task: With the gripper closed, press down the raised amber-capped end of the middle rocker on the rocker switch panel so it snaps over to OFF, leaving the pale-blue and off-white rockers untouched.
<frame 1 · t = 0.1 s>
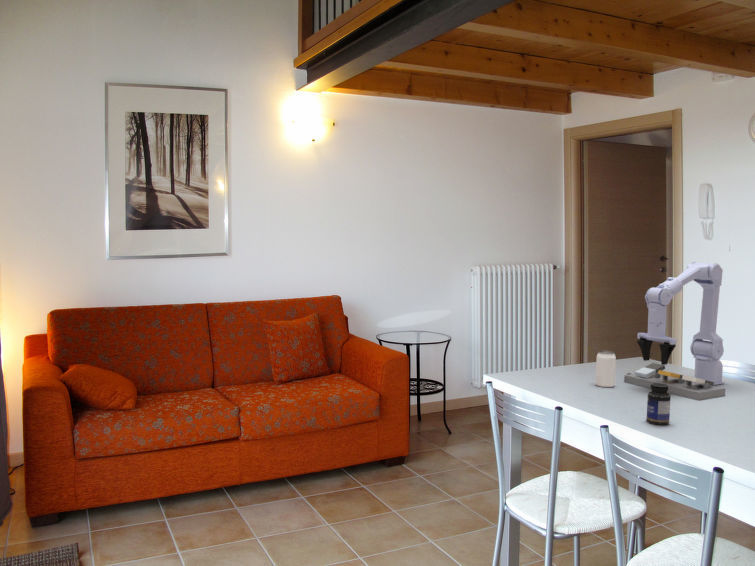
hand: (655, 362, 235), 10 cm above the table, fingers open, 7 cm apart
pill bottle: (657, 423, 197), on the table
rocker c: (698, 380, 232), point 5 cm above the table, hinge at -14.0°
rocker switch panel: (672, 388, 240), on the table
rocker b: (673, 375, 240), point 5 cm above the table, hinge at -14.0°
can: (605, 386, 243), on the table
rocker a: (649, 370, 248), point 5 cm above the table, hinge at 14.0°
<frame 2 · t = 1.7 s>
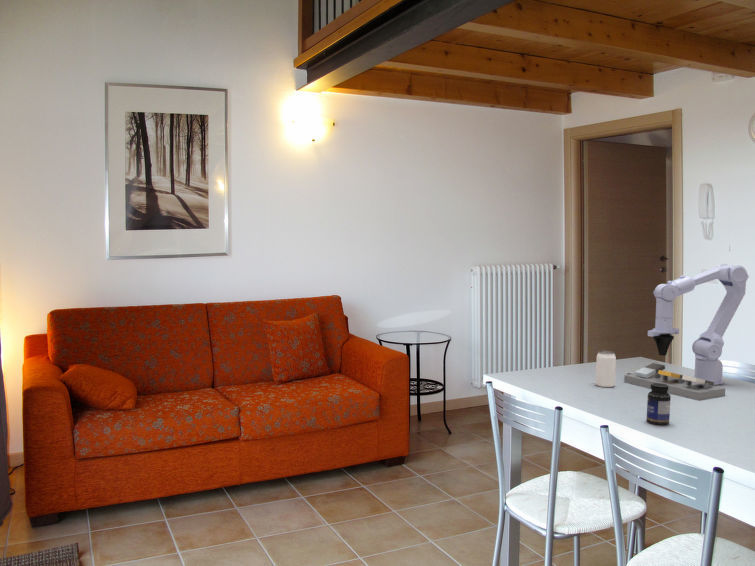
hand: (662, 355, 247), 10 cm above the table, fingers closed
nothing on the table moved.
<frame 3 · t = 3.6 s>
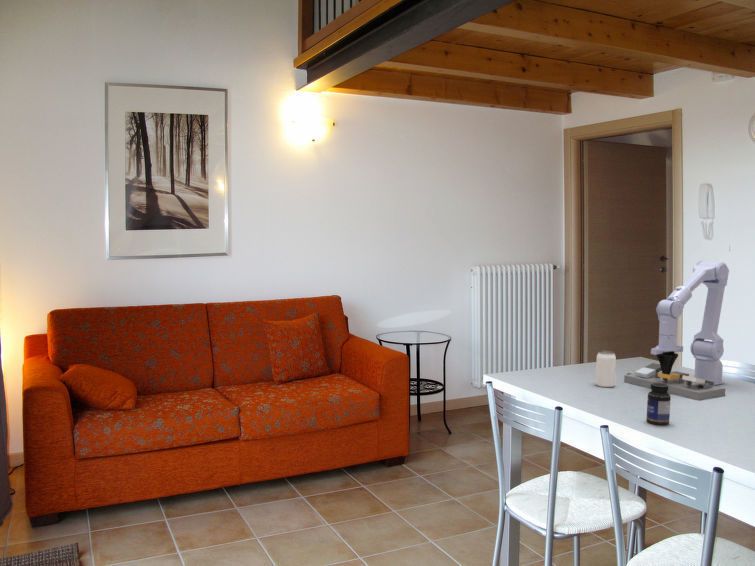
hand: (666, 373, 238), 6 cm above the table, fingers closed
rocker b: (673, 375, 240), point 5 cm above the table, hinge at -3.0°, touching gripper
everything else where it was.
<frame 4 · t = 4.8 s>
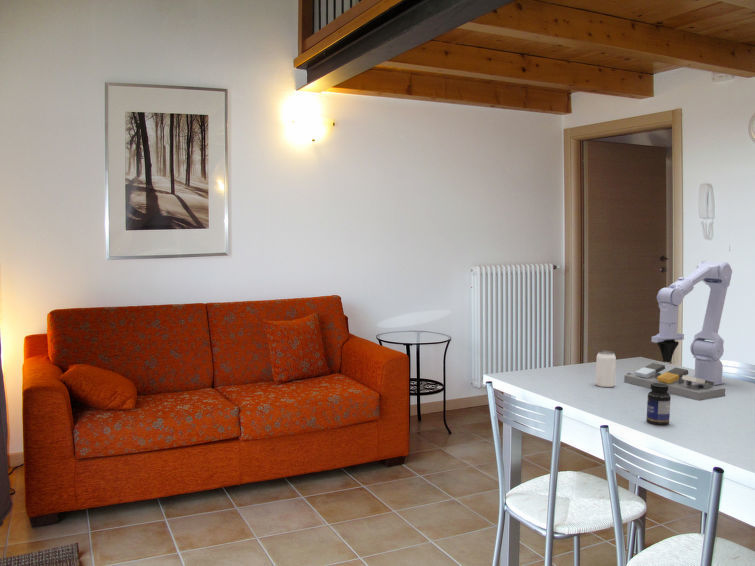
hand: (666, 361, 238), 10 cm above the table, fingers closed
rocker b: (672, 375, 240), point 5 cm above the table, hinge at 14.4°
everything else where it was.
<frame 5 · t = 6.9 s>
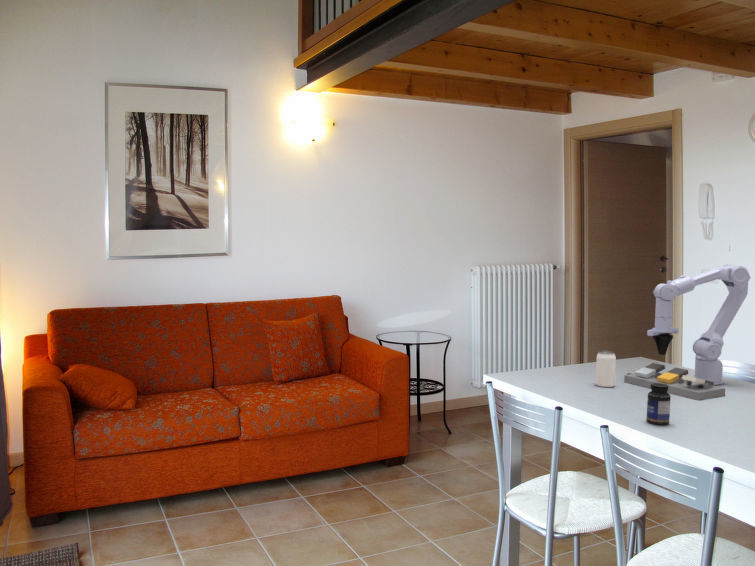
hand: (662, 354, 248), 10 cm above the table, fingers closed
nothing on the table moved.
at the end: rocker b at +14° (first picture: -14°); rocker a at +14° (first picture: +14°); rocker c at -14° (first picture: -14°) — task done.
